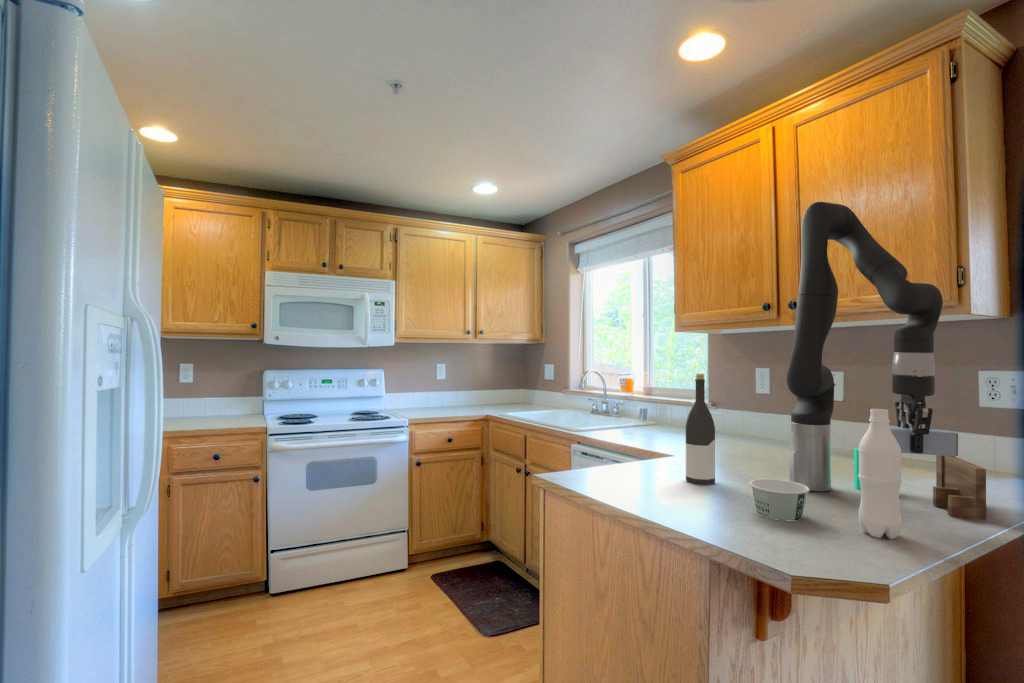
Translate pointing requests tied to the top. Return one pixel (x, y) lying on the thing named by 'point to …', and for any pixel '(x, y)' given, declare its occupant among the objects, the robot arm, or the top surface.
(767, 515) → the food container
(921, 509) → the top surface
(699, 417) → the wine bottle
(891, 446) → the water bottle
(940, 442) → the light blue rectangular bar
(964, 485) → the wooden holder stand
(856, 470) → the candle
